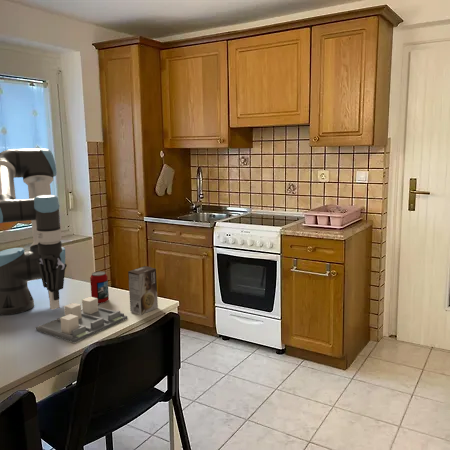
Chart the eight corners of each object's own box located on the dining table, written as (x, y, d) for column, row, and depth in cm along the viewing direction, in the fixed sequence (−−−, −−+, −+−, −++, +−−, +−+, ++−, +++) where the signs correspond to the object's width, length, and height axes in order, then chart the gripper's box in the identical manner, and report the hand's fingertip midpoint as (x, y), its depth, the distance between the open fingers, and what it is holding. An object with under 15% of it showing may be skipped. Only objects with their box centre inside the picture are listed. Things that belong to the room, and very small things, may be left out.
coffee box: (146, 304, 180) (144, 265, 177) (158, 307, 176) (156, 268, 173) (129, 311, 173) (127, 271, 170) (141, 315, 169) (139, 273, 166)
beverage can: (104, 304, 180) (102, 275, 178) (88, 303, 182) (86, 275, 180) (111, 299, 187) (110, 271, 185) (96, 298, 188) (94, 270, 186)
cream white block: (82, 312, 169) (82, 299, 169) (91, 309, 173) (90, 296, 172) (90, 314, 167) (89, 301, 166) (98, 311, 171) (97, 298, 170)
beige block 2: (61, 331, 152) (60, 317, 151) (71, 327, 155) (70, 314, 154) (69, 334, 150) (68, 320, 149) (79, 330, 153) (78, 316, 152)
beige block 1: (65, 319, 163) (64, 306, 162) (74, 315, 166) (73, 302, 165) (72, 321, 161) (71, 308, 160) (81, 317, 164) (80, 304, 163)
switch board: (35, 330, 156) (35, 321, 156) (90, 308, 176) (89, 301, 176) (74, 342, 146) (73, 334, 145) (127, 318, 166) (127, 310, 165)
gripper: (27, 241, 151) (33, 307, 156) (52, 246, 144) (58, 315, 149) (46, 237, 157) (52, 300, 162) (71, 242, 151) (76, 308, 155)
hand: (54, 307), depth 156 cm, fingers closed
